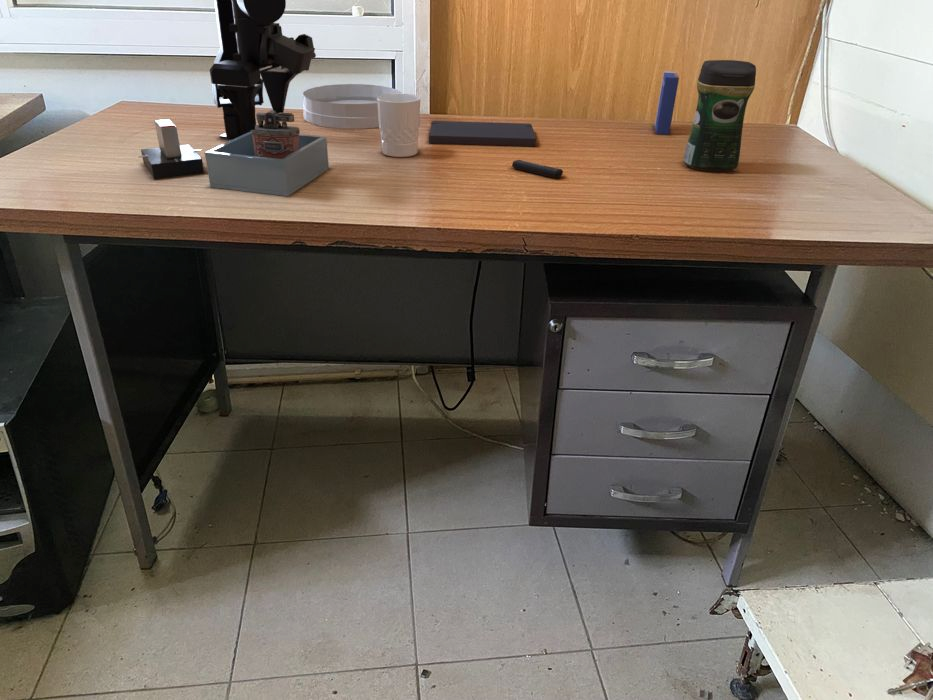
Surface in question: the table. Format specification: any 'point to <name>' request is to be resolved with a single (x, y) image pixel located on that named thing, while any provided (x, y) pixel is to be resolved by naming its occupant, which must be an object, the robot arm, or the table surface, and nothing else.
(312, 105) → the dish
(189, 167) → the panel
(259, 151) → the lighter
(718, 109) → the coffee jar
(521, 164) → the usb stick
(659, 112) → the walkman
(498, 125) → the notebook
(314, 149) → the basin
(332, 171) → the table surface
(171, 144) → the red-capped metal block
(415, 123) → the white cup
